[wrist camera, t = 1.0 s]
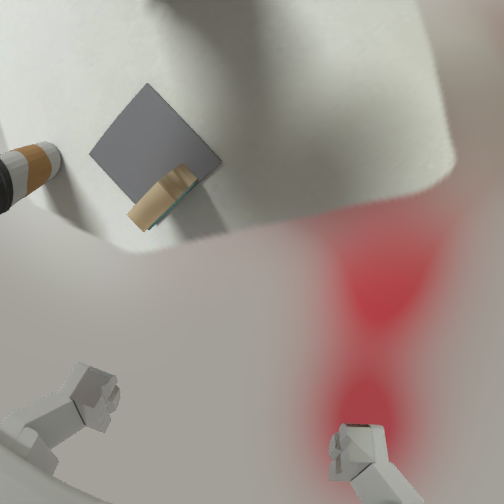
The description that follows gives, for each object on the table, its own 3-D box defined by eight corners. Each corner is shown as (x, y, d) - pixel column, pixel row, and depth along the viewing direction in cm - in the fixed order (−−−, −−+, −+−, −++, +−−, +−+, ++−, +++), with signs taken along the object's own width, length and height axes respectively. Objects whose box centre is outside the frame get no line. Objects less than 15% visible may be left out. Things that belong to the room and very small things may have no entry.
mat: (90, 153, 42) (88, 154, 41) (148, 83, 36) (146, 83, 36) (155, 222, 46) (154, 224, 46) (222, 161, 41) (221, 162, 40)
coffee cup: (35, 130, 40) (-31, 154, 27) (70, 141, 41) (2, 169, 28) (30, 175, 44) (-30, 208, 31) (63, 189, 45) (3, 228, 32)
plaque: (154, 190, 43) (126, 214, 35) (182, 162, 41) (157, 181, 33) (170, 206, 44) (145, 234, 36) (199, 180, 42) (177, 203, 34)
